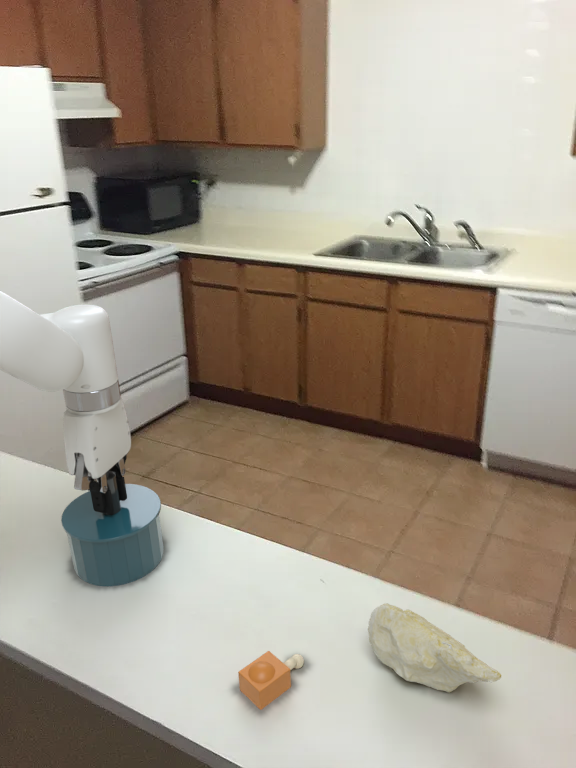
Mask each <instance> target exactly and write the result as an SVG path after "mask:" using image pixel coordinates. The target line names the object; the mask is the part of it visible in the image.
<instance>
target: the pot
mask: <svg viewBox="0 0 576 768" xmlns="http://www.w3.org/2000/svg"><path fill="white" fill-rule="evenodd" d="M66 535H67V540H68V545H69V551H70V555H71V559H72V565H73V569H74V571H75V574H76V575H77V576H78V578H79V579H80V580H82V581H83V582H85V583H87V584H90V585H93V586H97V587H98V586H99V587H118V586H122V585H127V584H131V583H133V582H136V581H138V580H140V579H143V578H144V577H147V576H148V575H149V574H150V573H151V572H153V571H154V570H155V569H156V568H157V567H158V566H159V564H160V563H161V561H162V559H163V556H164V550H165V549H164V548H165V547H164V540H163V533H162V525H161V518H160V514H159V515H158V517H157V518H156V519H155V521H154V522H153V523H152V524H151V525H149V526H148V527H147V528H145V529H144V530H142V531H141V532H139V533H137V534H135V535H132V536H130V537H127V538H124V539H120V540H116V541H110V542H86V541H81V540H78V539H75V538H73V537H71V536H70V535H68V534H67V533H66Z"/></svg>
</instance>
